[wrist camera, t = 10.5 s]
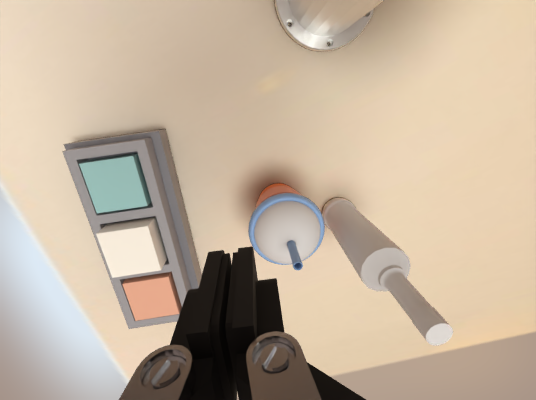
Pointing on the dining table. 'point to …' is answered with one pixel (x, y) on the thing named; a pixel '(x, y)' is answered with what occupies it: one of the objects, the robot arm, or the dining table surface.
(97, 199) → the teal key
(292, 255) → the cup with straw
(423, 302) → the bottle
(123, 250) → the cream key
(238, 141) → the dining table surface
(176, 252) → the keypad
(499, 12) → the dining table surface
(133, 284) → the terracotta key
